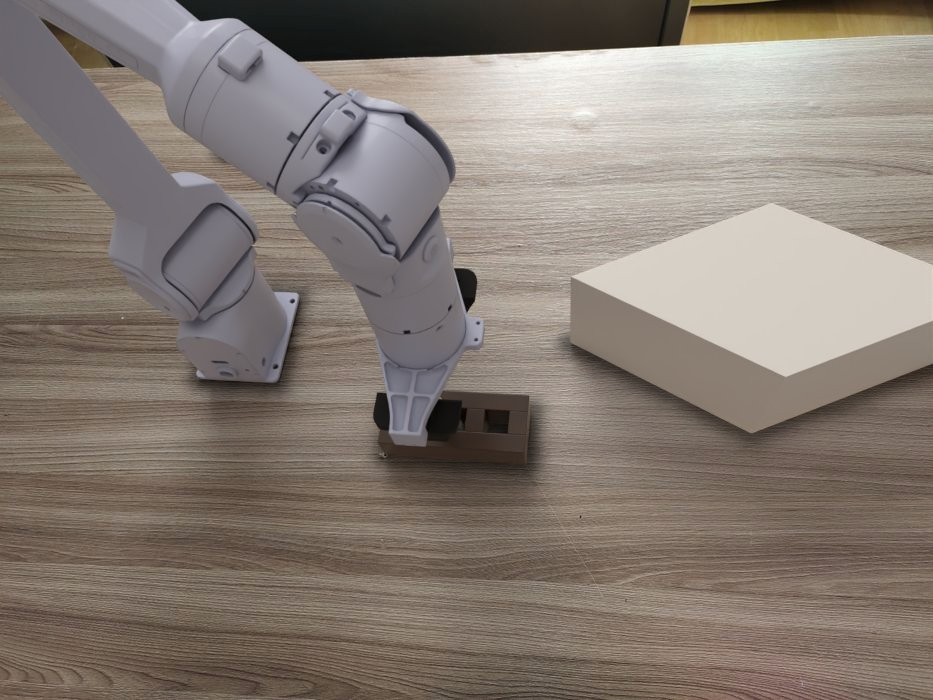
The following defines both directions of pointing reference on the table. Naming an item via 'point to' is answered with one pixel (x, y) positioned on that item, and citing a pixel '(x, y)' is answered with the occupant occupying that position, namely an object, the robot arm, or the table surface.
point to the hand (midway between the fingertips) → (442, 388)
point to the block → (759, 315)
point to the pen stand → (477, 431)
